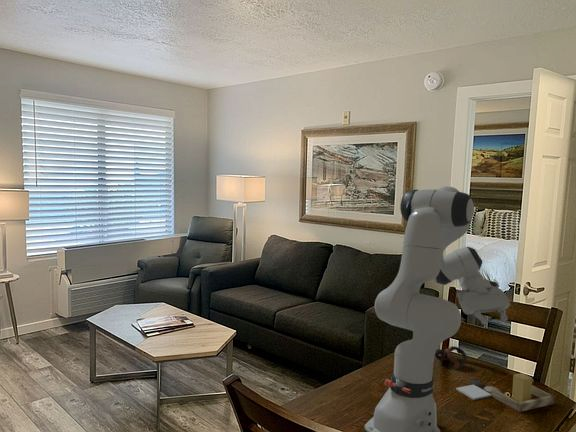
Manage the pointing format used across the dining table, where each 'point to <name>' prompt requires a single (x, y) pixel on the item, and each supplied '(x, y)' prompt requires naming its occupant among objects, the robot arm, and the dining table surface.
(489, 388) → the painted circle
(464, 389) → the pad
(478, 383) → the hole disc
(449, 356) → the pottery mug
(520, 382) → the ochre block
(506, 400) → the cubby
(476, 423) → the dining table surface
